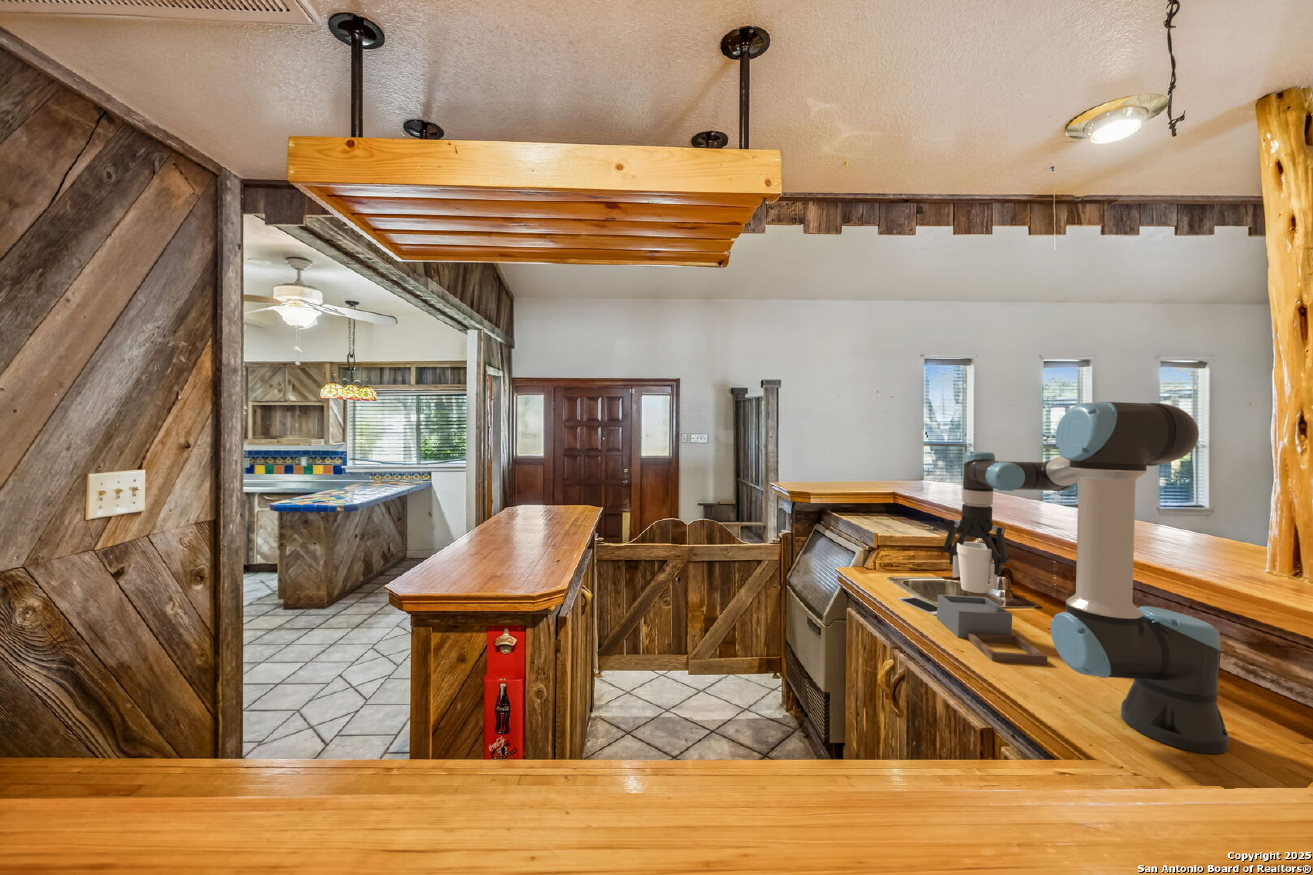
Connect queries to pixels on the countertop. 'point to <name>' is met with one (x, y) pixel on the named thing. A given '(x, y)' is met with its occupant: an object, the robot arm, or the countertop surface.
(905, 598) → the smartphone
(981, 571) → the foam cup
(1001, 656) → the walnut collar
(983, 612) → the charcoal stand
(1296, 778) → the countertop surface
